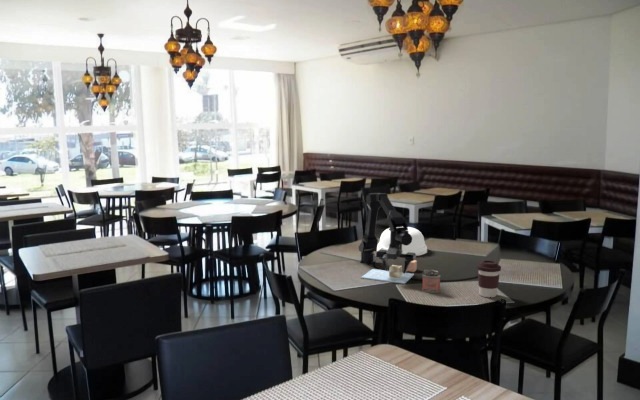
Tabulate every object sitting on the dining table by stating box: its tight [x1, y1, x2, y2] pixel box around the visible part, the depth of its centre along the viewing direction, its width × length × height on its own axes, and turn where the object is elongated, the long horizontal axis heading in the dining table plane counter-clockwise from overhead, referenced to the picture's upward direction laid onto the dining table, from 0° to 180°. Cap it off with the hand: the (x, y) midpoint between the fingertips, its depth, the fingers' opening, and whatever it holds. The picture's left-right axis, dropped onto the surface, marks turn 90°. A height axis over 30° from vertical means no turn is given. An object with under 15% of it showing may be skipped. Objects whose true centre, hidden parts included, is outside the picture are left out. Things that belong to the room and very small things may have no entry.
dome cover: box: [376, 226, 428, 257], centre depth 312 cm, size 32×30×14 cm
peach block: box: [406, 259, 418, 273], centre depth 270 cm, size 5×5×5 cm
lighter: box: [421, 269, 442, 294], centre depth 235 cm, size 8×3×10 cm, turn 71°
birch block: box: [388, 264, 403, 278], centre depth 257 cm, size 5×5×5 cm
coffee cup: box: [476, 259, 502, 298], centre depth 229 cm, size 10×10×15 cm
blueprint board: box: [360, 268, 415, 285], centre depth 259 cm, size 22×16×1 cm
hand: (395, 272), depth 257 cm, fingers open, 9 cm apart
